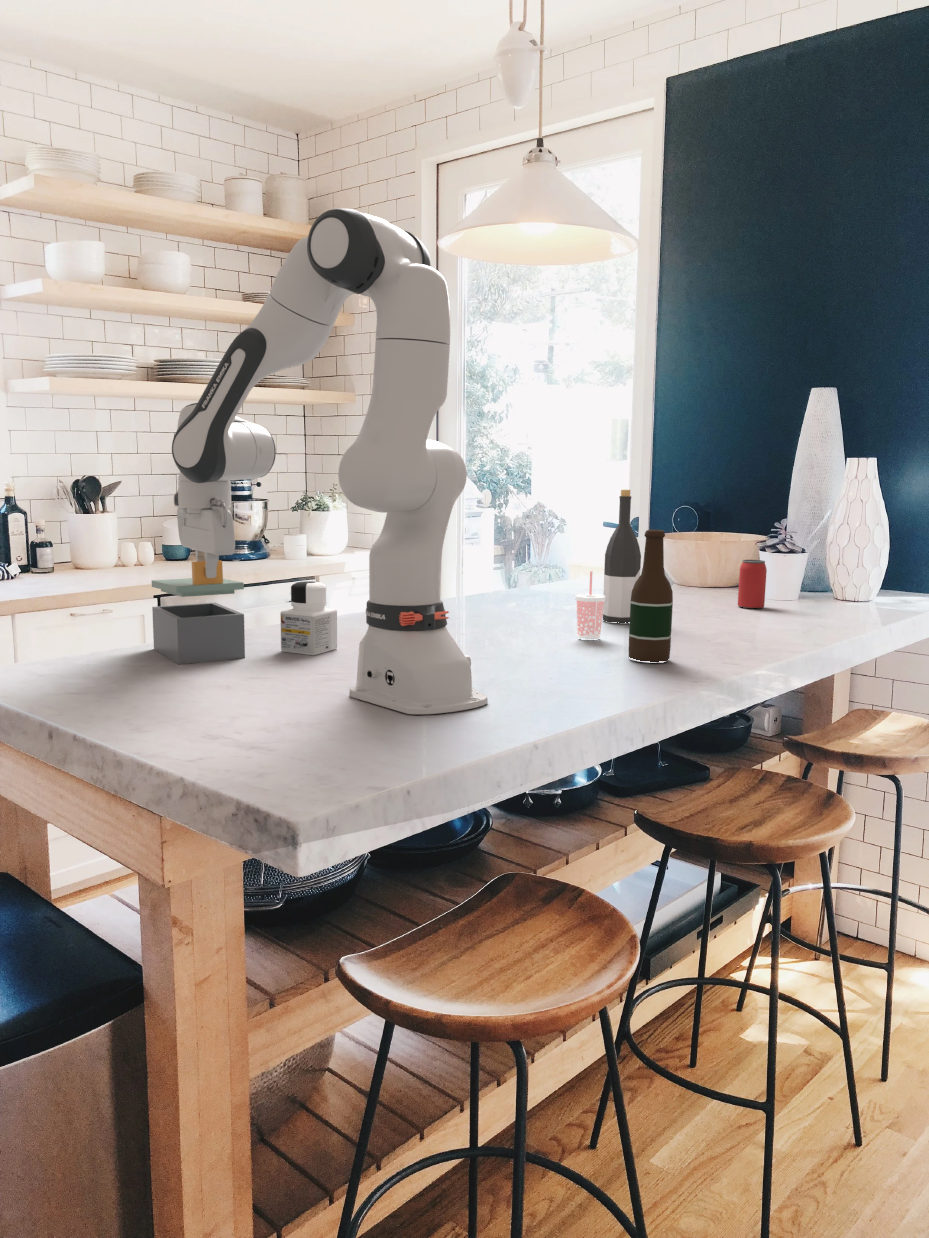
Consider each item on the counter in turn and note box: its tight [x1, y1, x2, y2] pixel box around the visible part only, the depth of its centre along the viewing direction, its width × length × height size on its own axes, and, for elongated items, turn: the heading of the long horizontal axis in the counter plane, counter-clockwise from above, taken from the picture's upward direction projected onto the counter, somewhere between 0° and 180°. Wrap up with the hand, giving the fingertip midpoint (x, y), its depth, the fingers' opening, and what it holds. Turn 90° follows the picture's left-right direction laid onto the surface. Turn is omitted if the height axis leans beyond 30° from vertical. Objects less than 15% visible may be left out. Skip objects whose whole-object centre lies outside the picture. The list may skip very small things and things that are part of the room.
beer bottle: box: [628, 529, 674, 662], centre depth 176 cm, size 8×8×24 cm
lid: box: [151, 559, 245, 598], centre depth 175 cm, size 16×12×6 cm
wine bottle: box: [602, 489, 642, 623], centre depth 219 cm, size 8×8×30 cm
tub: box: [151, 602, 246, 665], centre depth 177 cm, size 16×12×8 cm
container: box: [280, 580, 338, 656], centre depth 181 cm, size 8×8×13 cm
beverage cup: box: [574, 571, 605, 639], centre depth 197 cm, size 6×6×14 cm
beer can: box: [737, 559, 767, 610], centre depth 245 cm, size 7×7×12 cm
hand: (207, 576), depth 170 cm, fingers closed on lid
